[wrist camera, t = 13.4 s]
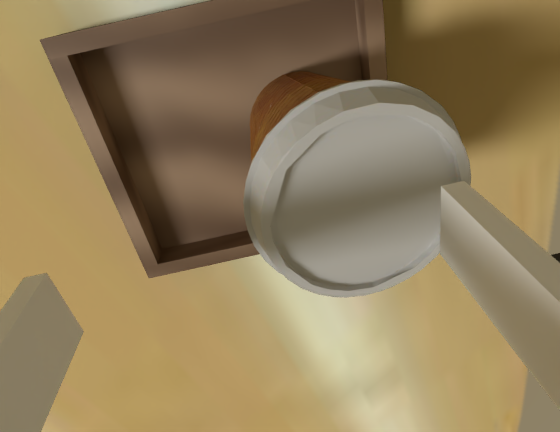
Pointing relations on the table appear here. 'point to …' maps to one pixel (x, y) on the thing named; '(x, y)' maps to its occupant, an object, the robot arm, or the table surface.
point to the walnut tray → (199, 108)
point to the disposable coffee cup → (348, 181)
